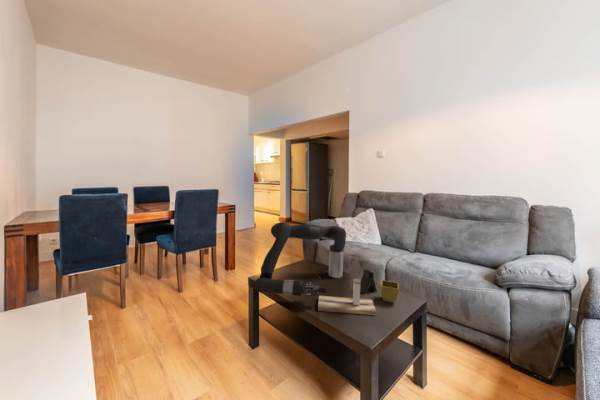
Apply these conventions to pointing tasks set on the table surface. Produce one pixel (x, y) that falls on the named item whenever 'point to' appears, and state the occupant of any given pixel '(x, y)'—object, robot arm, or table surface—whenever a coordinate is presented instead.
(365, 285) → the phone stand
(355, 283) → the fader knob
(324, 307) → the wooden slider board
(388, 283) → the flower pot
